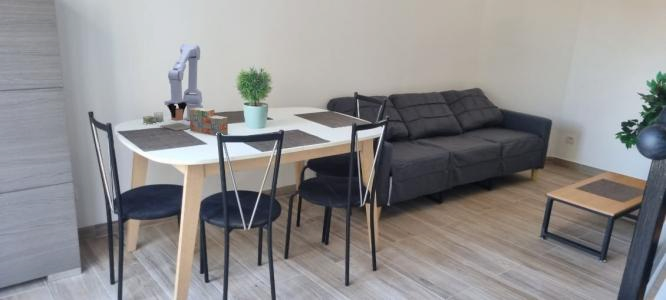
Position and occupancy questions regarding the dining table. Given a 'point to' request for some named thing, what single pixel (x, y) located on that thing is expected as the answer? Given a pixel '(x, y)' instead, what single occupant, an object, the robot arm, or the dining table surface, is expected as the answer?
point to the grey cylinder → (159, 116)
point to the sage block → (149, 119)
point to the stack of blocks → (207, 121)
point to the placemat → (177, 126)
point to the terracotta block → (178, 115)
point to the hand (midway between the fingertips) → (177, 116)
